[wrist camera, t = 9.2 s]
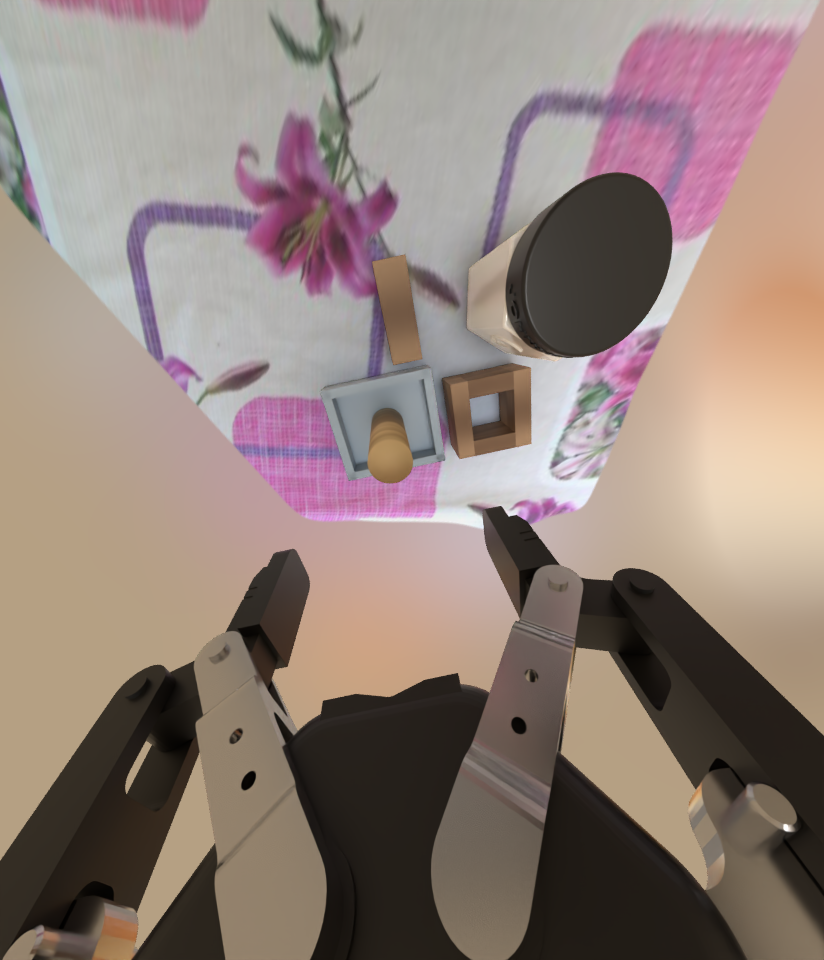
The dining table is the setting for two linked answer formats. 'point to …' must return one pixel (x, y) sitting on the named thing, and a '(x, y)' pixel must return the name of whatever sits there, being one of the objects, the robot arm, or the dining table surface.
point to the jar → (575, 272)
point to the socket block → (512, 402)
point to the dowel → (389, 447)
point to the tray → (365, 397)
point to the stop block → (397, 308)
